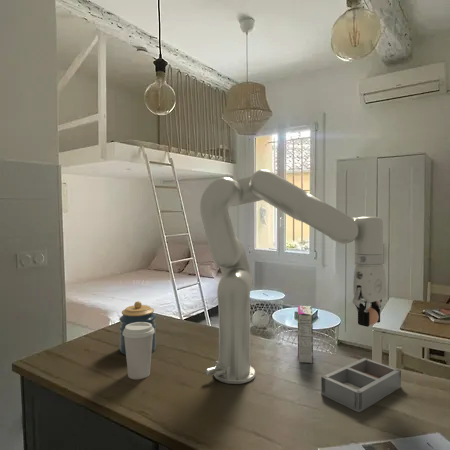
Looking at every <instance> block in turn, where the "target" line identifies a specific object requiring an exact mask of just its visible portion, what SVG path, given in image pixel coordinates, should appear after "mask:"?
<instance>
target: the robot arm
mask: <svg viewBox="0 0 450 450" xmlns="http://www.w3.org/2000/svg"><path fill="white" fill-rule="evenodd" d="M261 201H264V202H265V203H267V204H269V205H271V206H272V207H274V208H275V209H277V210H279V211H280V212H282V213H284V214H286V215H287V216H289V217H290V218H293V219H295V220H296V221H299V222H302V223H304V224H306V225H307V226H310V227H312V228H313V229H315V230H317V231H318V232H320V233H322V234H324V235H325V236H327V237H328V238H329V239H331V240H332V241H334V242H336V243H339V244H341V245H342V244H343V245H345V244H349V243H352V242H354V271H353V273H354V274H353V284H352V285H353V286H352V287H353V289H352V292H353V299H352V304H354V306H355V307H356V311H357V325H359V326H362V327H370V325H369V312H368V307H371V308H373V309H375V310H376V311H377V313H378V316H379V319H378V321H377V323H376V324H379V323H381V309H382V302H383V300H384V299H385V298H386V297H387V280H386V271H385V266H384V220H383V218H382V217H379V216H359V217H351V216H349V215H347V214H346V213H344V212H342V211H341V210H339V209H337V208H336V207H334V206H332V205H330V204H329V203H327V202H325V201H323V200H321V199H319V198H317V197H316V196H315V195H313V194H311V193H309V192H307V191H306V190H304V189H302V188H301V187H298V185H296V184H293V183H292V182H291V181H289V180H287V179H285V178H283V177H282V176H280V175H278V174H276V173H275V172H274V171H273V172H272V171H271V170H268V169H263V168H262V169H259V170H256V171H255V172H254V173H253V174H252V175H251V176H247V177H242V178H238V179H233V178H231V177H227V176H222V177H218V178H216V179H214V180H212V181H211V183H209V185H207V187H206V188H205V190H204V191H203V193H202V195H201V198H200V203H199V210H200V217H201V220H202V225H203V229H204V234H205V238H206V241H207V244H208V248H209V254H210V257H211V260H212V262H213V263H214V265H215V266H217V267H219V268H220V272H221V275H222V276H221V278H220V280H219V281H218V284H217V285H218V286H217V292H216V294H217V305H218V307H217V308H218V360H215V364H214V365H213V366H212V367H208V368H206V369H205V370H204V371H205V375H206V376H207V377H208V376H212V375H213V377H214V379H216V380H218V381H219V382H222V383H224V384H231V385H240V384H241V385H242V384H246V383H249V382H250V381H252V380H253V379H254V378H255V377H256V370H255V369H254V367H252V366H251V306H250V305H251V304H250V303H251V301H250V300H251V299H250V298H251V297H250V296H251V292H252V288H253V276H252V272H251V269H250V265H249V261H248V258H247V254H246V250H245V247H244V245H243V243H242V241H241V240H240V239H239V238H238V237H236V235H235V232H234V228H233V224H232V223H233V222H232V220H231V216H230V213H229V208H230V207H238V206H241V205H246V204H251V203H257V202H261ZM363 303H364V304H363Z"/></svg>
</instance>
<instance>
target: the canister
mask: <svg viewBox="0 0 450 450" xmlns="http://www.w3.org/2000/svg"><path fill="white" fill-rule="evenodd" d="M154 311H155V310H154V308H152V307H150V306H149V305H147V304H142V302H141V301H139V300H137V301H135V302H134V304H133V305H129V306H127V307H126V308H124V309H123V310H122V311H121V314H122V315H121V316H120V317H119V318H118V319H119V322H120V326H119V350H120V353H121V354H123V356H126V349H125V339H124V336H123V335H122V334H123V331H124V329H125V326H126V325H128V324H131V323H135V322H148V323H151V324H152V327H153V328H154V330H155V333H154V334H153V341H152V353H153V352H154V351H156V349H157V348H156V347H157V332H156V331H157V330H156V329H157V324H156V319H157V315H156V314H155V313H154Z"/></svg>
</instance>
